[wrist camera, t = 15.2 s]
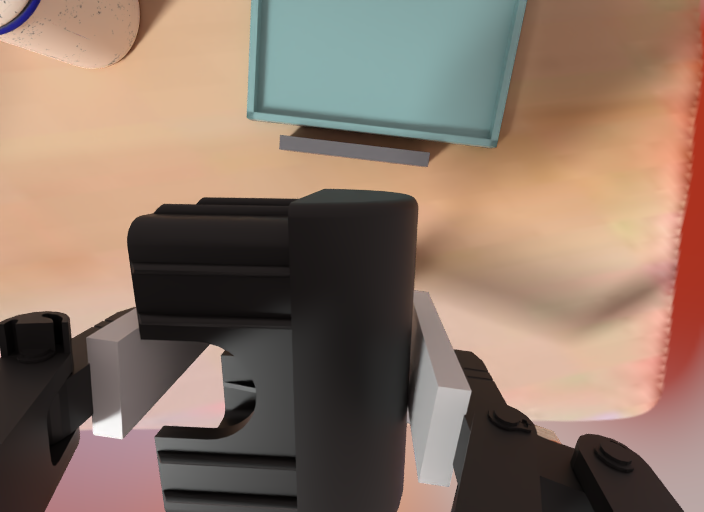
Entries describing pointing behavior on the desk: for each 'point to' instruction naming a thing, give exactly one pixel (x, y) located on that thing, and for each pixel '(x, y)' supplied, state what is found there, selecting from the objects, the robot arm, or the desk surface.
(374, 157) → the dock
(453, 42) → the tray
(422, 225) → the desk surface
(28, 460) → the robot arm
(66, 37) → the teacup with lid
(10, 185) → the desk surface
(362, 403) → the end cap
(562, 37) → the desk surface
